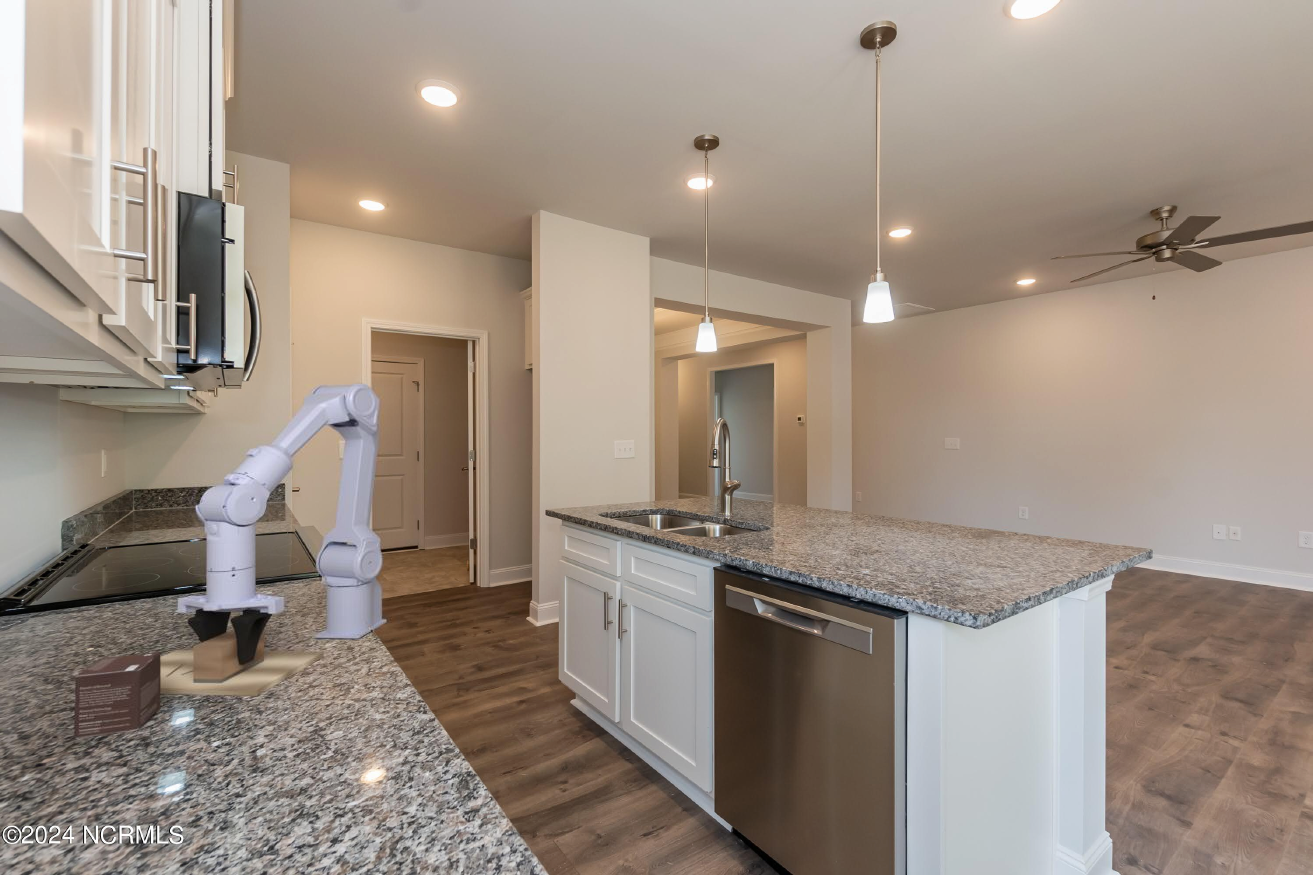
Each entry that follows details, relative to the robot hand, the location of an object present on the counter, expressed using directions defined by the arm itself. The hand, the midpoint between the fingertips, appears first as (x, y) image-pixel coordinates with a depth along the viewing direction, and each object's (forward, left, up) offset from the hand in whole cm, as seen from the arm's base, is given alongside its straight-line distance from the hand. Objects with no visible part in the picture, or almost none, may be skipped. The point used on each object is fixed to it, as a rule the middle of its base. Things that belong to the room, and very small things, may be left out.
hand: (231, 661), depth 83 cm
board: (-1, -3, -2) cm, 4 cm away
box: (+14, -2, -2) cm, 14 cm away
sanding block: (0, 0, -1) cm, 1 cm away
